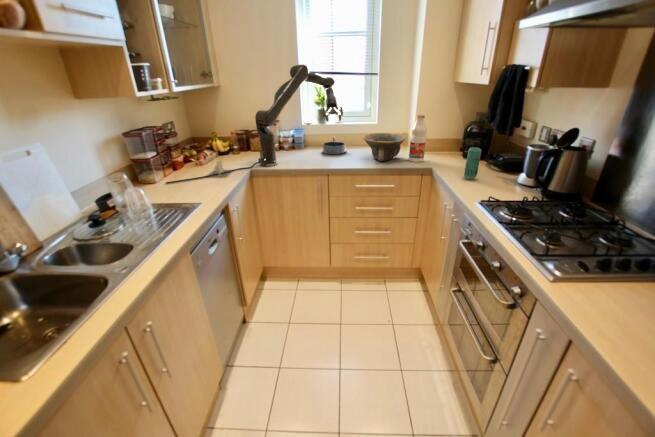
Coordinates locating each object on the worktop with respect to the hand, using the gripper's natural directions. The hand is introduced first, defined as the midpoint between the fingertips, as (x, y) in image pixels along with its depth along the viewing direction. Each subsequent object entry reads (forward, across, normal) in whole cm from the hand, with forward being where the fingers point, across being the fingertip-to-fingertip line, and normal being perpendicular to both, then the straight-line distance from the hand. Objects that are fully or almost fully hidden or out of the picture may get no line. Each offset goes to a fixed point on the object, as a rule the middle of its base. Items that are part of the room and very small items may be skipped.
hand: (334, 120), depth 220 cm
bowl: (+34, +29, -2) cm, 45 cm away
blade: (+14, 0, +16) cm, 22 cm away
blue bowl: (+15, 0, +17) cm, 23 cm away
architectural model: (+42, -75, -10) cm, 86 cm away
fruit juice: (+40, +48, -8) cm, 63 cm away
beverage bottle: (+70, +61, -38) cm, 100 cm away
